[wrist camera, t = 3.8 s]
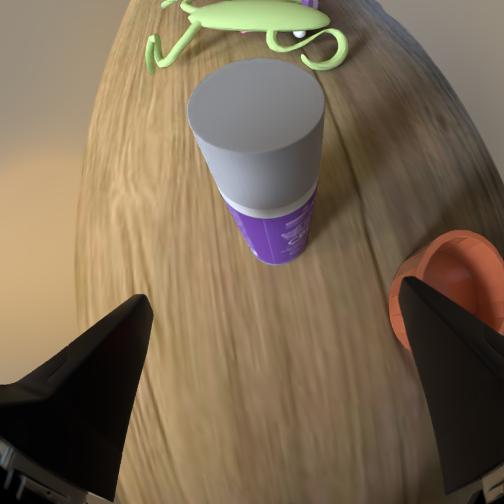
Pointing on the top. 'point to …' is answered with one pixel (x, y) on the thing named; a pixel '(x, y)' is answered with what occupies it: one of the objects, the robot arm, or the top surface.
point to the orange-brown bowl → (456, 277)
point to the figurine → (253, 26)
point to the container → (263, 149)
